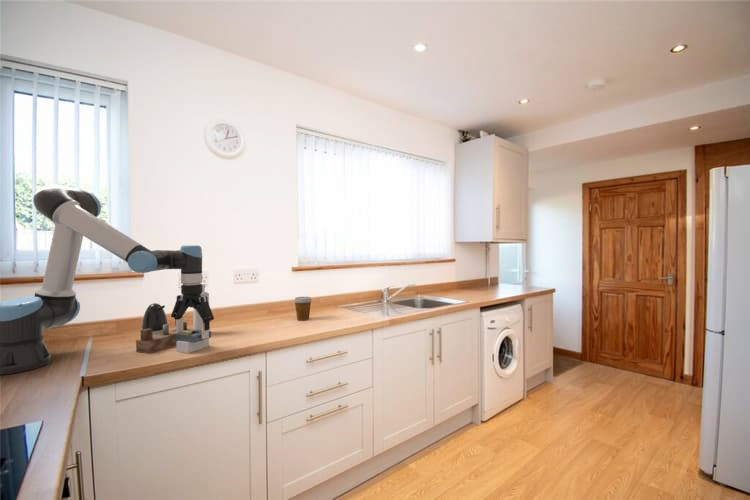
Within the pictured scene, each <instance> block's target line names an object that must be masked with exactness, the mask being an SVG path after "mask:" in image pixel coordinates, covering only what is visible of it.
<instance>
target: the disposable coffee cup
mask: <svg viewBox="0 0 750 500" xmlns="http://www.w3.org/2000/svg"><path fill="white" fill-rule="evenodd" d="M293 302H294V304H295V311H296V312H295V313H296V320H297V321H299V322H301V321H302V322H304V321H309V320H310V314H311V313H310V311H311V304H312V297H311V296H298V297H294V300H293Z"/></svg>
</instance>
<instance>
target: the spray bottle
mask: <svg viewBox="0 0 750 500" xmlns="http://www.w3.org/2000/svg"><path fill="white" fill-rule="evenodd" d="M201 284H202V293H201V297H205V296H207V298H208V303H209V304H210V293H208V291H206V283H201ZM192 310H193V311H192V313H193V324H192V325H193V329H195V330H202V322H203V320H202V318H201V317H200V315H199V314H198V312H197V310H196V309H194V308H192ZM205 319H206V318H205ZM210 329H211V328H210ZM210 329H209V331H211V330H210Z"/></svg>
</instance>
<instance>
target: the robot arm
mask: <svg viewBox="0 0 750 500" xmlns="http://www.w3.org/2000/svg"><path fill="white" fill-rule="evenodd" d="M32 199H33V206H34V207H35V209H36V210H37V211H38V212H39V213H40V214H41V215H42V216H44V217H46V218H47V219H49V220H50V221H51V223H52V224H53V225H54V230H53V234H52V239H51V244H50V248H49V252H48V257H47V262H46V266H45V272H44V276H43V279H42V280H43V281H42V285H41V287H39V289H37V290H35V291H34V296H24V297H18V298H12V299H7V300H4V301H0V376H3V375H11V374H18V373H22V372H23V373H24V372H26V371H31V370H34V369H35V370H36V369H38V368H41V367H44V366H46V365H48V364H50V363H51V361H52V360H51V353H50V352H49V349H48V348H47V346H46V344H45V342H44V331H46V330H49V329H52V328H56V327H62V326H64V325H66V324H67V323H70V322H72V321H73V320H74V319H76V318H77V317H78V315H79V313H80V311H81V303H80V302H79V301H78V298H77V297H76V295H77V292H75V291H74V289H73V286H74V280H75V277H76V272H77V267H78V261H79V258H80V254H81V253H80V252H81V249H82V244H83V239H84V238H87V239H88V240H90V241H91V242H93V243H94V244H96V245H97V246H99V247H101V248H103V249H105V250H106V251H108V252H109V253H111V254H112V255H114V256H116V257H118V258H119V259H121V260H122V261H124V262H126V263H127V265H128V267H129V269H130V270H131V271H133V272H135V273H142V274H145V273H146V274H147V273H151V272H156V271H163V270H180V283H181V286H180V292H181V293H180V294H179V295H176V301H175V304H174V305H173V306H174V307H173V309H172V312H171V314H170V318H174V320H175V323H174V324H175V329H176V333H179V332H181V331H183V322H184V317H183V316H184V314H185V313H186V312H187V310H188V308H192V309H193V308H194V309H196V310H197V312H198V314H199V315H200V317H201V318H202V320H203V322H202V339H205V338H209V329H211V327H210V325H211V324H210V322H212V321H213V320H214V319H215V317H214V314H213V311H212V309H211V306H210V302H209V303H208V298H207V296H205V297H201V293H202V284H203V253H202V252H203V251H202V250H203V249H202V247H201V246H200V245H181V246H180V250H178V249H177V250H165V249H164V250H163V249H161V250H160V249H155V250H151V249H149V248H147V247H145V246H143V244H141V243H139V242H137V241H136V240H135V239H133V238H131V237H130V236H127V234H125V233H123V232H121V231H119V230H118V229H116V228H115V227H113V226H111V225H110V224H108V223H107V222H105V221H104V220H102V219H100V218H99V215H101V212H102V206H101V202H100V200H99V198H97V196H96V195H95V194H93V193H92V192H90V191H86V190H83V189H81V188H79V189H78V188H74V187H68V186H64V185H59V184H49V185H45V186H42V187H41V188H39V189H37V191H35V193H34V196H33V197H32ZM205 318H206V319H205ZM209 339H210V338H209Z"/></svg>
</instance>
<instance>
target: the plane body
mask: <svg viewBox="0 0 750 500" xmlns="http://www.w3.org/2000/svg"><path fill="white" fill-rule="evenodd" d="M169 328H170V327H169V323H168V324H165V325H163V333H160V334H157V335H152V329H149V328H148V329H144V330H142V329H141V330H140V338H139V339H135V347H136V348H135V350H136V352H137V353H144V354H150V353H151V352H152V353H154V352H157V351H161V350H164V349H167V348H170V347H174V346H177V345H176V340H174V334H175V333H176V328H175V329H171V330H170V329H169ZM190 329H191V328H188V322H187V321H183V331H186V330H190Z"/></svg>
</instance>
